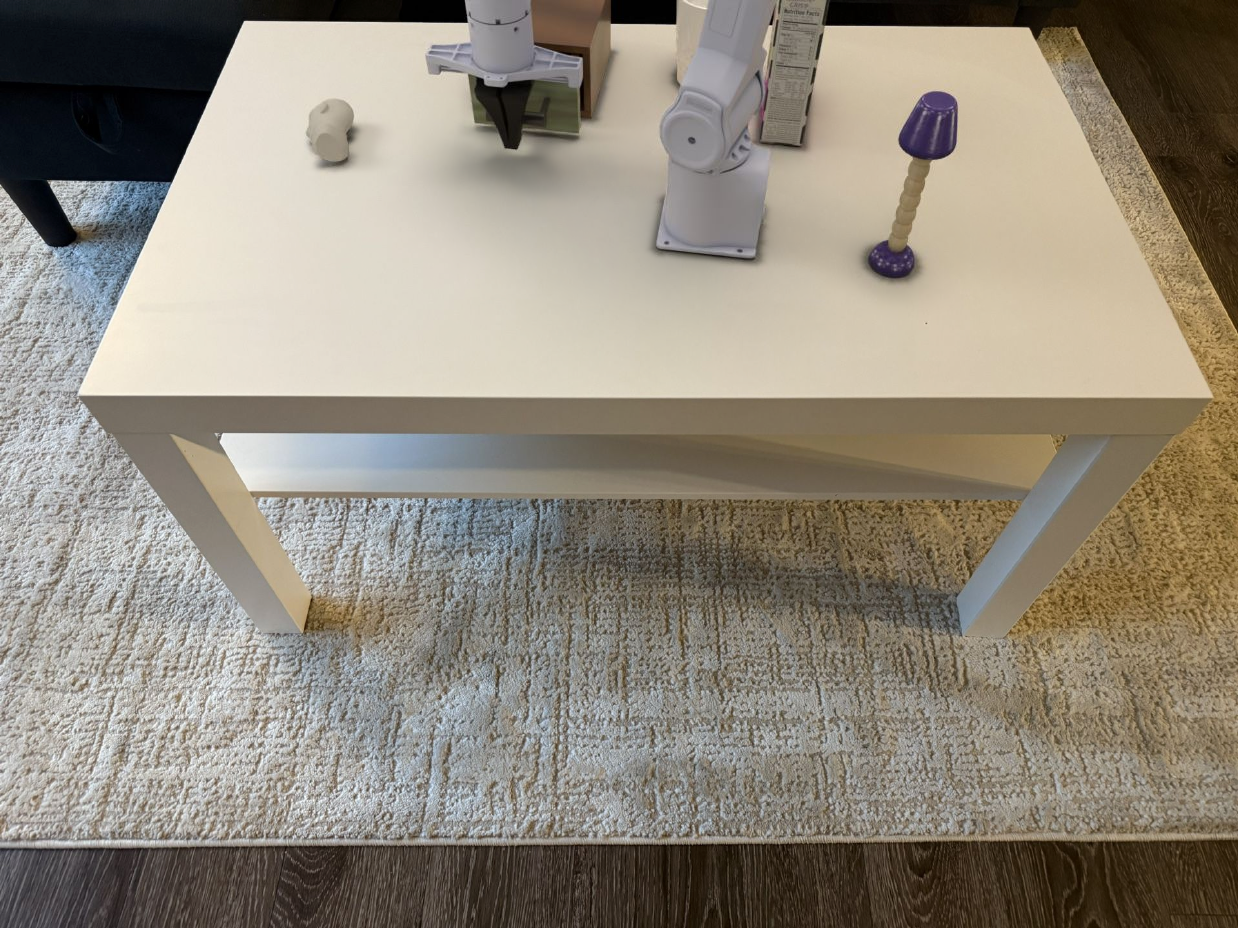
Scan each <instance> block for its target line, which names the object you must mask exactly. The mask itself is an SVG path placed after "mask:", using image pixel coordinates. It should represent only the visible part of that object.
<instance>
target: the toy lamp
mask: <svg viewBox="0 0 1238 928" xmlns="http://www.w3.org/2000/svg"><path fill="white" fill-rule="evenodd" d="M958 115H959V105H958V101H957V99H956V97H955V96H953V95H952V94H950V93H948V92H945V91H940V90H933V91H928V92H926V93H924V94H922V95H921V96H920V98H919V99H918V100H917V102H916V103H915V106H914V107H913V108H912V111H911V112H910V114H909V115H908V118H907V119H906V121H905V123H904V124H903V126H902V127H901V130H900V132H899V135H898V140H897V141H898V145H899V147H900V149H901V150H902V151H903V152H904V153H905V154H907V155H909V156H910V157H911V158H912V160H911V161H910V163H909V165H908V167H907V176H906V177H905V179H904V181H903V191H902V192H901V194H900V195H899V198H898V199H899V200H898V202H899V204H898V206H897V207H896V210H895V219H894V220H893V222H892V224H891V233H890V234H889V237H888V239H886V240H883V241H881V242H879V243H877V244H876V245H875V246H874V247H873V249H872V250H871V251H870V253H869V255H868V264H869V266H870V267H871V269H872V270H873V271H875V272H876V273H878V274H879V275H882V276H884V277H889V278H902V277H905V276H907V275H909V274H910V273H911V272H912V271H913V270H914V267H915V262H916V261H915V254H914V251H913V250H912V248H911V247H910V246H909V245H908V243H909V235H910V234H911V232H912V229H913V222H914V221H915V219H916V217H917V208H918V207H919V205H920V203H921V200H922V195H921V194H922V193H923V191H924V189H925V187H926V178H927V177H929V174H930V171H931V162H932V161H938V160H942V159H945V158H947V157H949V156H950V155H951V154H952V153H954V151H955V149H956V147H957V142H958V120H959V117H958Z"/></svg>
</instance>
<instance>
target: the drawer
mask: <svg viewBox="0 0 1238 928" xmlns="http://www.w3.org/2000/svg"><path fill="white" fill-rule="evenodd" d="M557 52H558V51H557ZM558 53H561V54H564V55H568V56H573V57H581V58H583V54H580V53H569V52H558ZM467 78H468V86H469V91H470V92H469V93H470V100H471V106H472V114H473V120H474V123H475V124H478V125H479V124H480V125H490V126H495V124H494V122H493V120H492V118H491V117H490V115H489V114H488V112H487V111H486V109H485V108H484V107H483V105H482V104H481V103H480V102H479V101H478V100H477V99H476V96H475V92H474V88H475V86H476V76H474V75H471V74H467ZM583 94H584V82H583V79H582V82H581V85H580V88H572V87H569V85H568V83H561V82H550V81H540V80H535V82H534V85H533V87H532V90H531V93H530V95H529V98H528V101H527V105H526V109H525V113H524V118H523V125H522V129H529V130H539V131H540V130H541V131H548V132H549V131H550V132H559V133H569V134H570V133H571V134H580V131H581V127H582V125H581V123H582V121H581V117H580V104H581V100H582V97H583Z"/></svg>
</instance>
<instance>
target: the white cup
mask: <svg viewBox="0 0 1238 928" xmlns="http://www.w3.org/2000/svg"><path fill="white" fill-rule="evenodd" d="M708 2H709V0H676V21H675V22H676V23H675V24H676V25H675V26H676V27H675V33H676V37H675V46H676V48H675V49H676V50H675V51H676V52H675V56H676V62H677V63H676V81H677V82H678V84H679V86H680V85H681V82H682V80H683V78H684V76H685V73H686V71H687V69H688V67H689V65H690V63H691V60H692V58H693V56H694V54H695V52H696V50H697V47H698V44H699V39H700V35H701V31H702V27H703V23H704V18H705V14H706V10H707V6H708Z"/></svg>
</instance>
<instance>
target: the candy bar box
mask: <svg viewBox="0 0 1238 928" xmlns="http://www.w3.org/2000/svg"><path fill="white" fill-rule="evenodd" d="M830 2H831V0H777V1H776V4H775V7H774V11H773V18H772V19H773V20H772V25H771V34H770V41H769V46H768V47H769V48H768V54H767V55H768V56H767V63H766V71H765V78H764V83H765V98H764V101H763V104H762V105H761V114H760V125H759V139H758V141H759V142H760V143H762V144H768V145H769V144H770V145H783V146H784V145H785V146H792V147H802V146H803V143H804V138H805V133H806V128H807V122H808V117H809V113H810V107H811V103H812V102H811V101H812V96H813V91H814V86H815V80H816V76H817V71H818V65H819V60H820V54H821V49H822V45H823V44H822V43H823V39H824V34H825V27H826V22H827V17H828V12H829V9H830Z"/></svg>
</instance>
